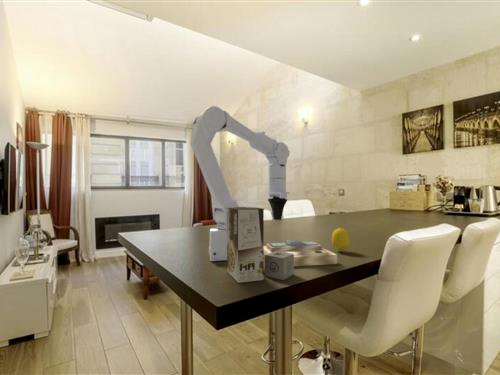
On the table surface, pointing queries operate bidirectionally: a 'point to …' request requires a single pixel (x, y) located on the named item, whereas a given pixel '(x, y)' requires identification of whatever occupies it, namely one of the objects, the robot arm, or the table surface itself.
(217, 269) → the table surface
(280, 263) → the dice cube
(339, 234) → the lemon
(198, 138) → the robot arm
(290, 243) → the button middle
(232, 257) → the coffee box
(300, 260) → the button board
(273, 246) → the button left
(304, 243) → the button right
